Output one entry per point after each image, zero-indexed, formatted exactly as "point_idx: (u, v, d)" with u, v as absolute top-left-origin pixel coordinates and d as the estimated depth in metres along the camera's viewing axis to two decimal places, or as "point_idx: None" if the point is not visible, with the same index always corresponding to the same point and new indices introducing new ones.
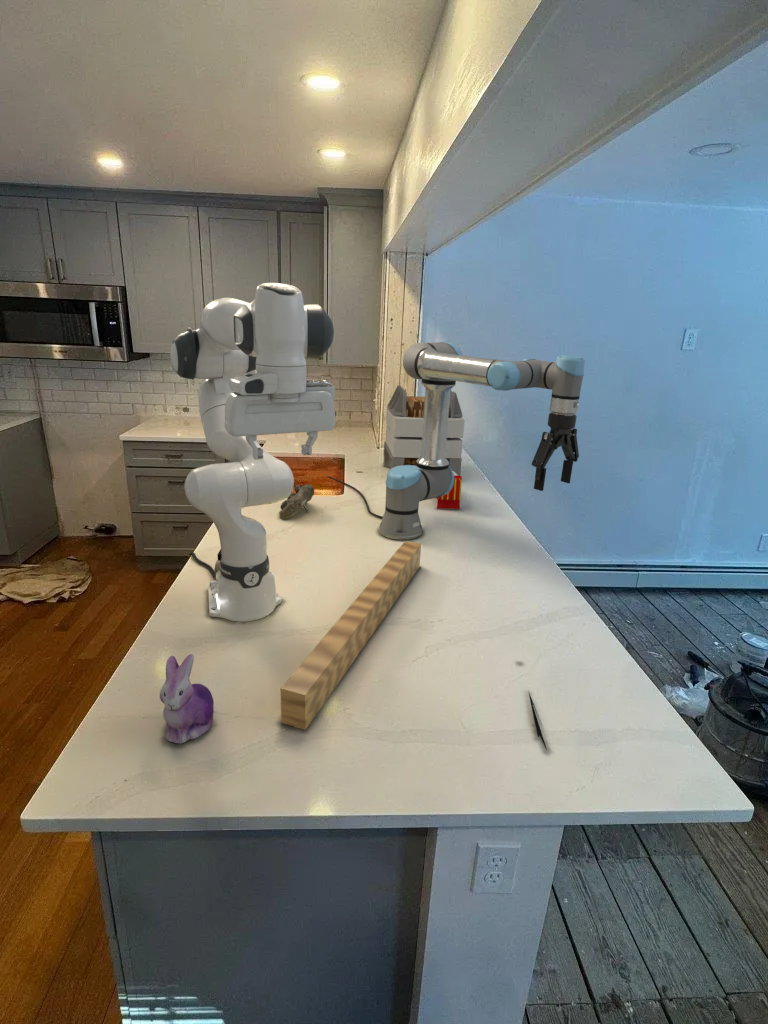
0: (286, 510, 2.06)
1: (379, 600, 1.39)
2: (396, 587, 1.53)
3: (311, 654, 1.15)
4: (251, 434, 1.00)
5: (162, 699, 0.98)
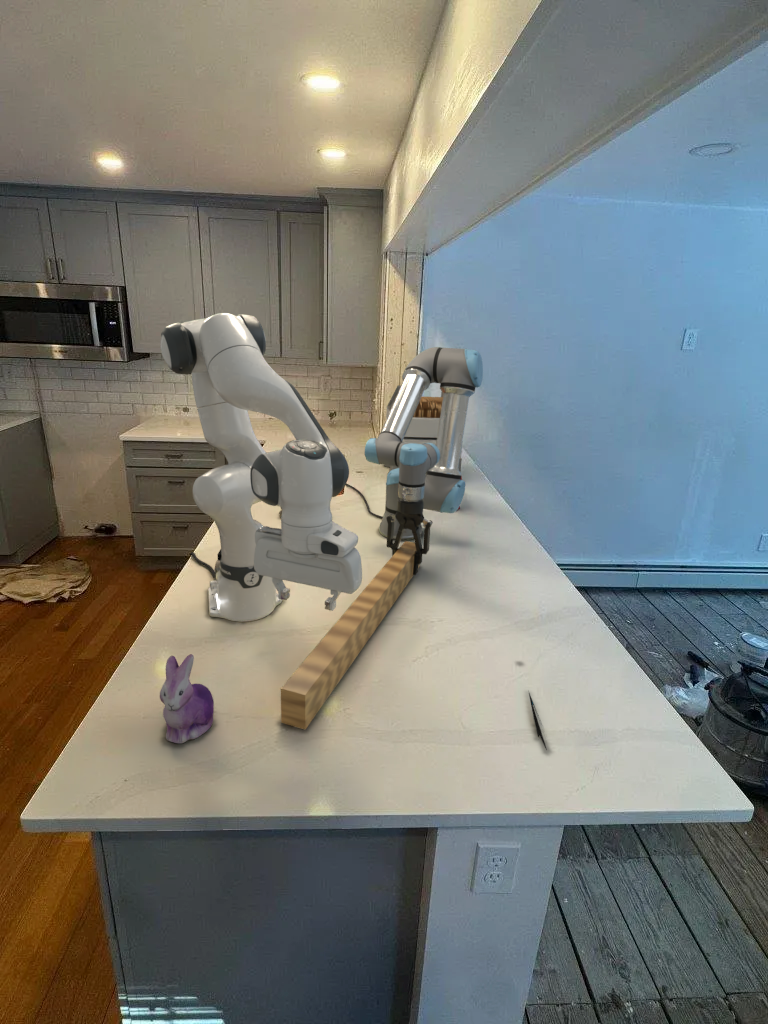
0: None
1: (379, 600, 1.39)
2: (396, 587, 1.53)
3: (311, 654, 1.15)
4: None
5: (162, 699, 0.98)
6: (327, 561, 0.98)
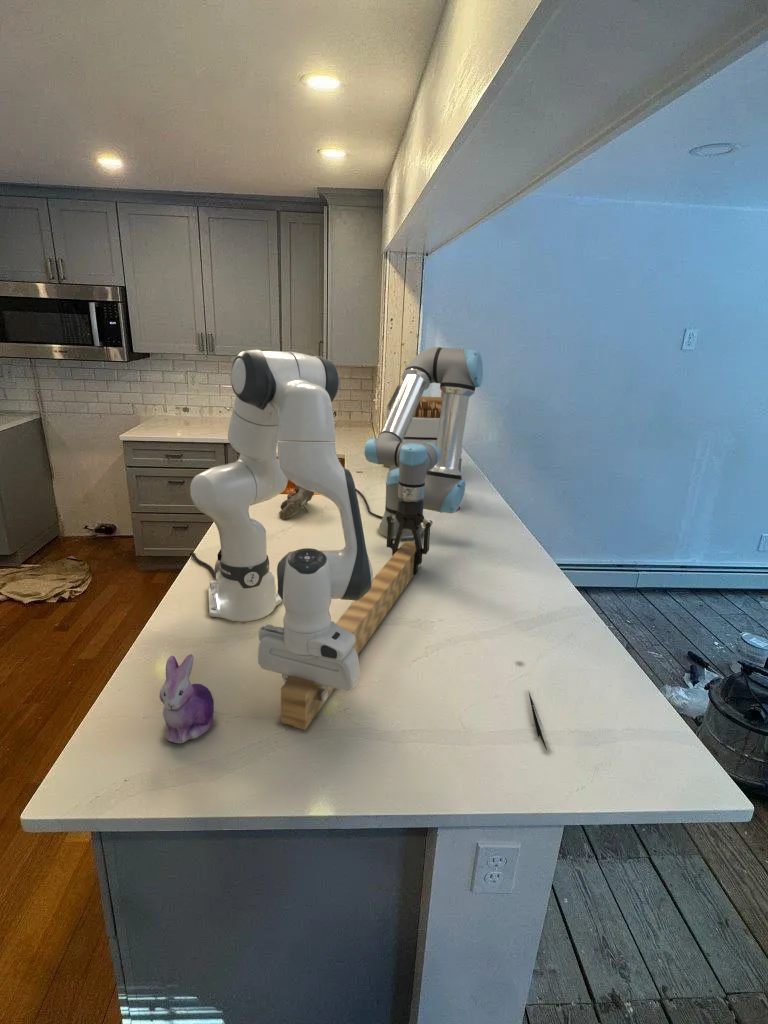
0: (286, 510, 2.06)
1: (379, 600, 1.39)
2: (396, 587, 1.53)
3: None
4: None
5: (162, 699, 0.98)
6: (326, 661, 1.05)
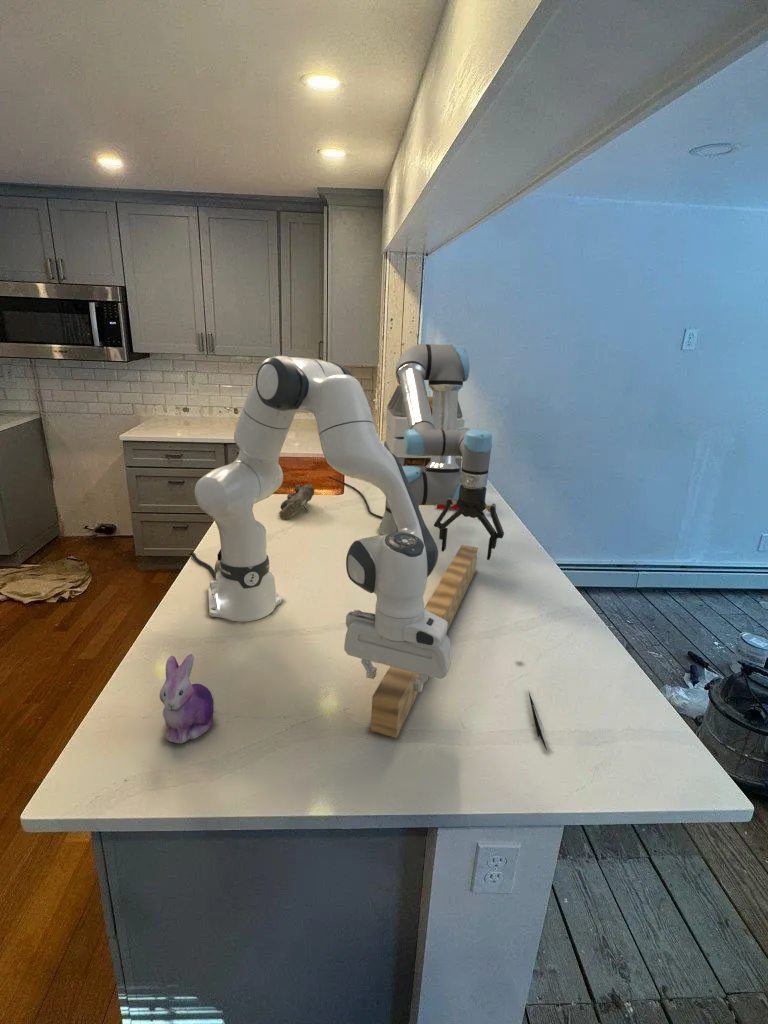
0: (286, 510, 2.06)
1: (449, 605, 1.38)
2: (460, 592, 1.52)
3: None
4: None
5: (162, 699, 0.98)
6: (420, 648, 1.02)
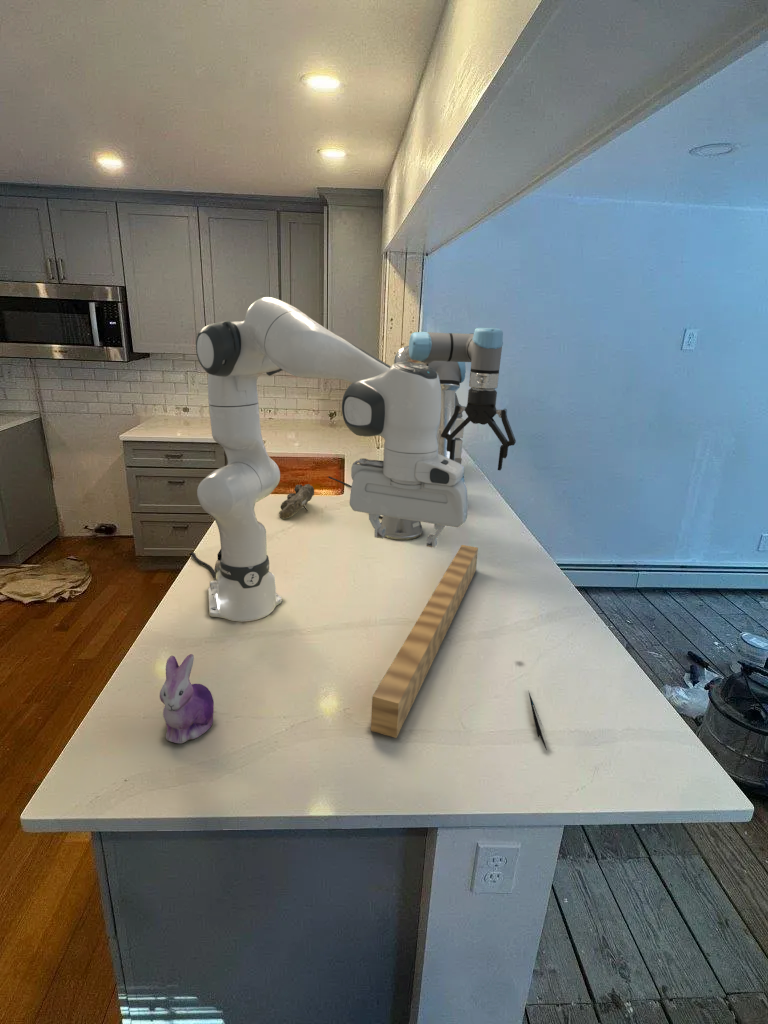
0: (286, 510, 2.06)
1: (449, 605, 1.38)
2: (460, 592, 1.52)
3: (395, 661, 1.14)
4: None
5: (162, 699, 0.98)
6: (434, 492, 0.92)
